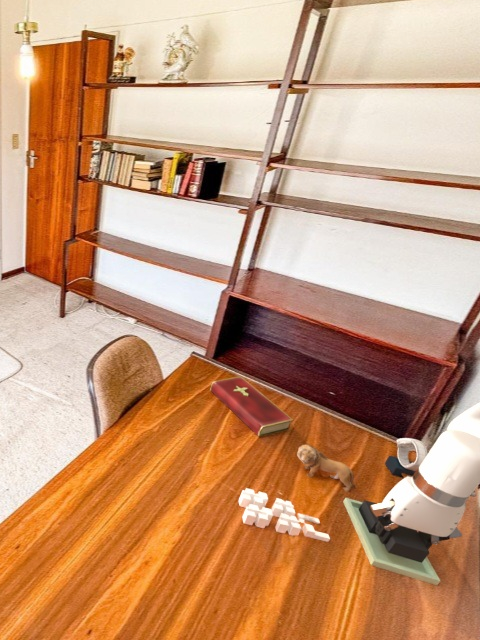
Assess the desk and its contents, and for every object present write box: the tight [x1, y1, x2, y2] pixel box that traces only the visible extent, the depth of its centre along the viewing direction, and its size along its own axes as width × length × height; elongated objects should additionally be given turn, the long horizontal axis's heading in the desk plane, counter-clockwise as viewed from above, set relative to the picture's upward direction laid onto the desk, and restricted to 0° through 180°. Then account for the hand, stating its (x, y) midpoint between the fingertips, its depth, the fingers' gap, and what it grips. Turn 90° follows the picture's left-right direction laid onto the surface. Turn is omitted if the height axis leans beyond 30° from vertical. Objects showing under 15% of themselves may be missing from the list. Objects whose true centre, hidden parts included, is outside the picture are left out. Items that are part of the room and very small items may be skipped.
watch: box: [384, 437, 429, 479], centre depth 105 cm, size 6×8×11 cm
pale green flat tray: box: [343, 497, 441, 586], centre depth 90 cm, size 12×16×2 cm
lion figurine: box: [296, 444, 356, 493], centre depth 103 cm, size 15×5×9 cm, turn 69°
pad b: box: [375, 519, 431, 563], centre depth 85 cm, size 6×6×4 cm
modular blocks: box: [238, 487, 331, 543], centre depth 92 cm, size 20×7×4 cm, turn 75°
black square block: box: [359, 499, 386, 535], centre depth 92 cm, size 6×6×4 cm
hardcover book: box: [209, 375, 294, 438], centre depth 126 cm, size 12×21×4 cm, turn 16°
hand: (398, 542), depth 86 cm, fingers closed on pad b, 6 cm apart
